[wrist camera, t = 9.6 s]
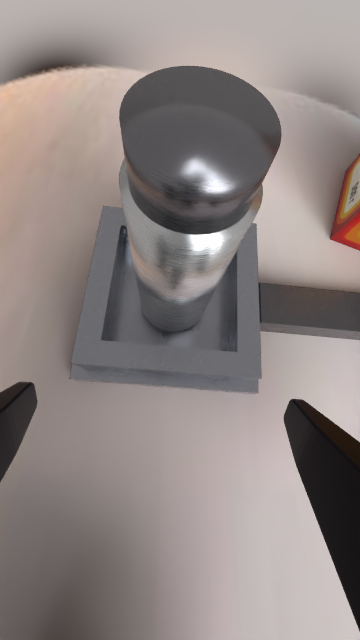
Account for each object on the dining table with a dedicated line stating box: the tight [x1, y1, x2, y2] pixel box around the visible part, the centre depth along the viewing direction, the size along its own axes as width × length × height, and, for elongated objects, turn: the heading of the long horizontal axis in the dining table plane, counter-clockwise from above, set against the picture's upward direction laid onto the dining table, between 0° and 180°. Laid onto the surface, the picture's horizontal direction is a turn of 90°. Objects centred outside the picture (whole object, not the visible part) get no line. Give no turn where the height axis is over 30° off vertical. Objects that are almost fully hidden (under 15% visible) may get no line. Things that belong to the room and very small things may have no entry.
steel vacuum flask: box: [119, 66, 281, 332], centre depth 13 cm, size 5×5×13 cm
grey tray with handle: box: [69, 206, 360, 394], centre depth 19 cm, size 13×29×4 cm, turn 86°
